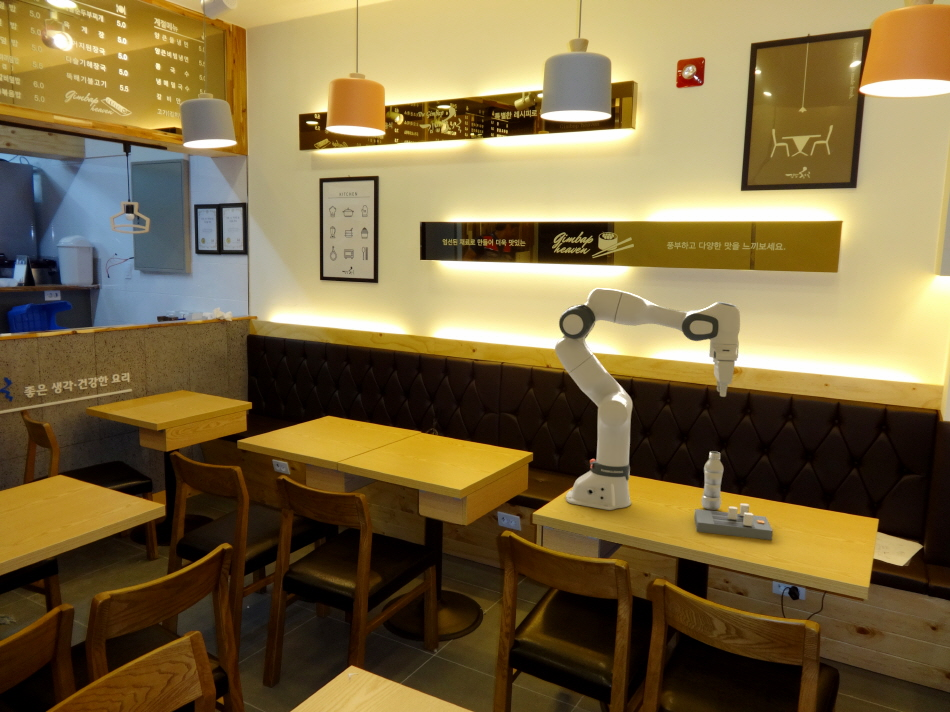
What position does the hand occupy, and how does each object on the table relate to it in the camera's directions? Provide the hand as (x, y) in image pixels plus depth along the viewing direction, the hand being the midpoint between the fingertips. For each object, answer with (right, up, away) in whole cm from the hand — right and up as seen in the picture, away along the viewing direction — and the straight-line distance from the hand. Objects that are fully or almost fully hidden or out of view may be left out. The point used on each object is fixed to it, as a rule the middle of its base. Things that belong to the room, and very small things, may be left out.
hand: (721, 393), depth 229 cm
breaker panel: (+1, -43, -6) cm, 43 cm away
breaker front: (+4, -40, -12) cm, 42 cm away
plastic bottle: (+1, -41, +12) cm, 42 cm away
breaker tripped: (+1, -39, -7) cm, 40 cm away
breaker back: (+6, -39, -3) cm, 40 cm away
